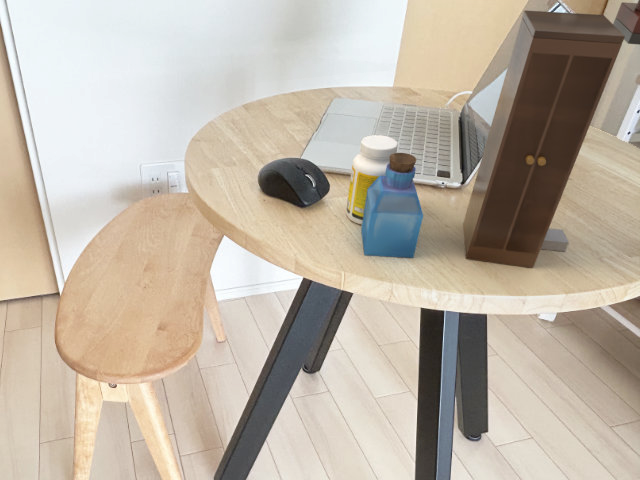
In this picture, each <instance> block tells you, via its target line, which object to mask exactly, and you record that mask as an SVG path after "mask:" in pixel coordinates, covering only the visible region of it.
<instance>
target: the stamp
mask: <svg viewBox="0 0 640 480" xmlns="http://www.w3.org/2000/svg"><path fill="white" fill-rule="evenodd" d="M612 24H613V25H614V26H615V27H616V28H617V29H618V30H619V31H620V32H621V33H622V34H623V35H624V36H625V38H624V40H623V41H624V42H626V43H627V44H628V45H639V46H640V0H637V2H626V1H625V2H621V3H620V5H619V8H618V11H617V13H616V16H615V18H614V20H613V23H612Z"/></svg>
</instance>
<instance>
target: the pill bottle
mask: <svg viewBox="0 0 640 480" xmlns="http://www.w3.org/2000/svg"><path fill="white" fill-rule="evenodd" d="M398 146H399V144H398V141H397V140H396V139H394V138H392V137H390V136H386V135H381V134H380V135H379V134H374V135H373V134H372V135H368V136H365V137H363V138H362V139H361V141H360V146H359V153H358V154H357V155H355V157H354V158H353V160H352V164H351V170H350V171H351V172H350V178H349V179H350V180H349V186H348V195H347V202H346V210H345V211H346V216H347V217H348V218H349V220H350V221H352V222H353V223H355V224H357V225H359V226H362V222H363V215H364V209H365V203H366V196H367V190H368V188H369V187H370V186H371V185H372V184H373V183H374V182H375V180H376V179H377V178H378V177H379V176H386V175H385V173H386V167H387V165H388V164H389V163H390V160H389V157H390V155H391V154H394V153H398V148H399V147H398Z"/></svg>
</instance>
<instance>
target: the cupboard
mask: <svg viewBox="0 0 640 480" xmlns="http://www.w3.org/2000/svg"><path fill="white" fill-rule="evenodd" d="M624 38H625V36H624V35H623V34H622V33H621V32H620V31H619V30H618V29H617V28H616V27H615V26H614V25H613V23H612V22H611V20H609V19H608V18H607V16H605V15H604V14H594V13H593V14H592V13H575V12H558V11H542V10H541V11H540V10H523V13H522V17H521V20H520V23H519V27H518V31H517V34H516V37H515V41H514V45H513V48H512V51H511V55H510V58H509V61H508V66H507V69H506V72H505V76H504V79H503V84H502V86H501V89H500V93H499V98H498V100H497V103H496V108H495V110H494V114H493V118H492V121H491V123H490V128H489V131H488V135H487V138H486V142H485V146H484V148H483V149H484V150H483V152H482V155H481V160H480V163H479V166H478V170H477V173H476V177H475V181H474V184H473V188H472V191H471V195H470V198H469V201H468V205H467V208H466V212H465V215H464V219H463V222H462V224H463V225H462V227H463V239H464V250H465V251H464V252H465V253H464V254H465V259H466V260H472V261H479V262H487V263H492V264H493V263H494V264H501V265H507V266H516V267H522V268H529V269H534V266H535V264H536V261H537V259H538V257H539V254H540V252H541V250H542V249H541V247H542V244H543V242H544V239H545V237H546V234H547V232H548V229H549V228H550V226H551V224H552V221H553V220H554V216H555V214H556V212H557V209H558V207H559V204H560V201H561V199H562V197H563V194H564V192H565V188H566V186H567V184H568V181H569V178H570V176H571V174H572V171H573V169H574V166H575V164H576V162H577V159H578V156H579V153H580V151H581V149H582V146H583V143H584V141H585V138H586V136H587V134H588V131H589V129H590V126H591V124H592V120H593V118H594V116H595V113H596V110H597V108H598V106H599V104H600V100H601V98H602V96H603V93H604V91H605V89H606V85H607V83H608V80H609V78H610V76H611V73H612V71H613V68H614V66H615V63H616V60H617V58H618V55H619V53H620V51H621V49H622V45H623V43H624V41H625V40H624Z"/></svg>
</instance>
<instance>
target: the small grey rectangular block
mask: <svg viewBox="0 0 640 480" xmlns="http://www.w3.org/2000/svg"><path fill="white" fill-rule="evenodd" d="M569 244H570V241H569V239H568V238H567V236H566V234H565V231H564V229H560V228H559V229H558V228H550V227H549V229H548V232H547V234H546V237H545V239H544V242H543V244H542V247H541V249H540V250H548V251H558V252H566V250H567V248H568V246H569Z"/></svg>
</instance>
